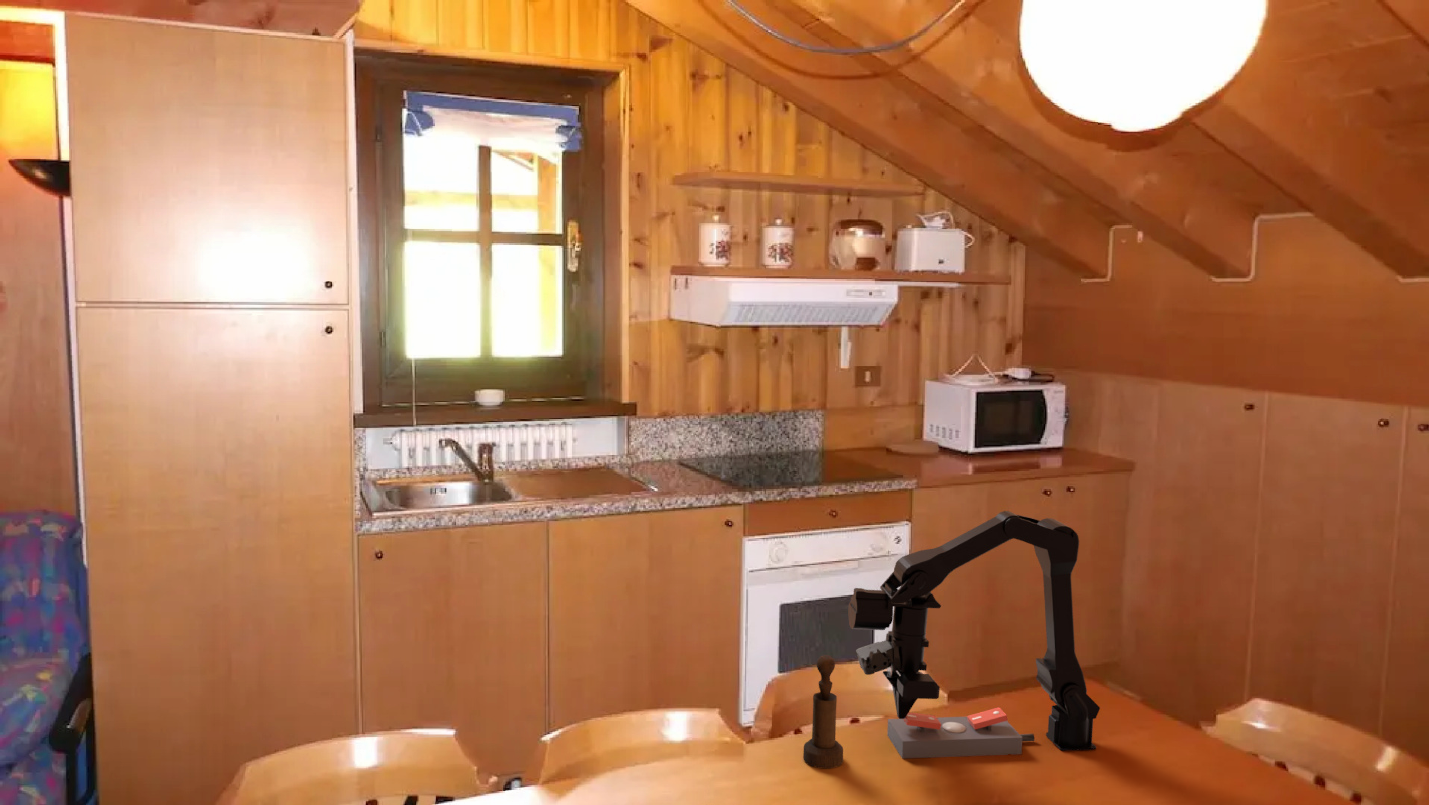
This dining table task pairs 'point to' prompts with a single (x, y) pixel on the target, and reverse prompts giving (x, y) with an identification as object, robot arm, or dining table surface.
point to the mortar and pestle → (824, 722)
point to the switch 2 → (987, 718)
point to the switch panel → (955, 739)
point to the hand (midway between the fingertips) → (900, 718)
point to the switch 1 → (922, 720)
